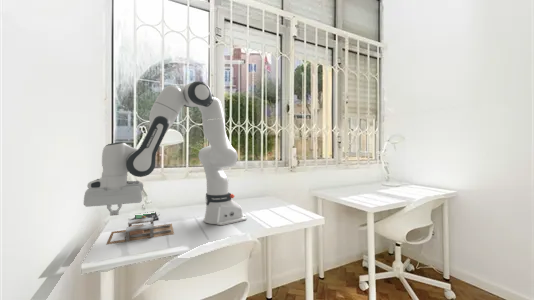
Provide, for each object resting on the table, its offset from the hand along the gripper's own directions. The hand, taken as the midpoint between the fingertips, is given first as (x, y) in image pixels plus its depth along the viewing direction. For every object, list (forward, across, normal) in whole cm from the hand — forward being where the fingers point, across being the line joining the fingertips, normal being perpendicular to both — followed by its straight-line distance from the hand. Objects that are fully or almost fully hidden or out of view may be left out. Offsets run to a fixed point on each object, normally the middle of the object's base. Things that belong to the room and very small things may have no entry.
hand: (114, 215), depth 98 cm
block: (+9, -8, 0) cm, 12 cm away
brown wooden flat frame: (+11, -11, 0) cm, 15 cm away
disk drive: (+11, -11, -22) cm, 27 cm away
